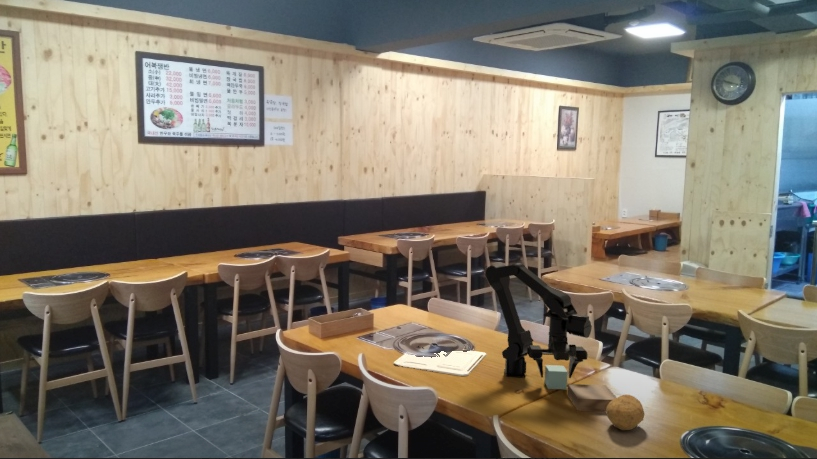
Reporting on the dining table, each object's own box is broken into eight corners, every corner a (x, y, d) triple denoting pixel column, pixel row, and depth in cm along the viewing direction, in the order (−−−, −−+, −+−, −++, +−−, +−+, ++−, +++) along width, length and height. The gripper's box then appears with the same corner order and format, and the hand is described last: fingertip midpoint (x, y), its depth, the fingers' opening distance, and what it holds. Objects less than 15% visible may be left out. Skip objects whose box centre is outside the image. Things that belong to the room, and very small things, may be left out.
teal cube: (548, 389, 194) (549, 371, 194) (544, 382, 200) (545, 365, 200) (566, 389, 194) (567, 371, 194) (562, 382, 200) (563, 365, 200)
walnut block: (577, 411, 177) (578, 398, 177) (567, 396, 189) (568, 384, 189) (617, 412, 177) (618, 399, 177) (605, 397, 189) (605, 385, 189)
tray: (391, 366, 214) (391, 362, 214) (419, 345, 240) (419, 342, 240) (466, 378, 204) (466, 374, 204) (487, 355, 230) (487, 351, 229)
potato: (598, 431, 163) (599, 403, 162) (613, 414, 175) (614, 388, 174) (634, 441, 158) (636, 412, 157) (648, 423, 169) (649, 396, 168)
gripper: (534, 337, 188) (532, 385, 189) (593, 339, 187) (590, 387, 189) (527, 328, 199) (525, 373, 200) (583, 329, 198) (581, 375, 200)
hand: (555, 377), depth 197 cm, fingers open, 9 cm apart
